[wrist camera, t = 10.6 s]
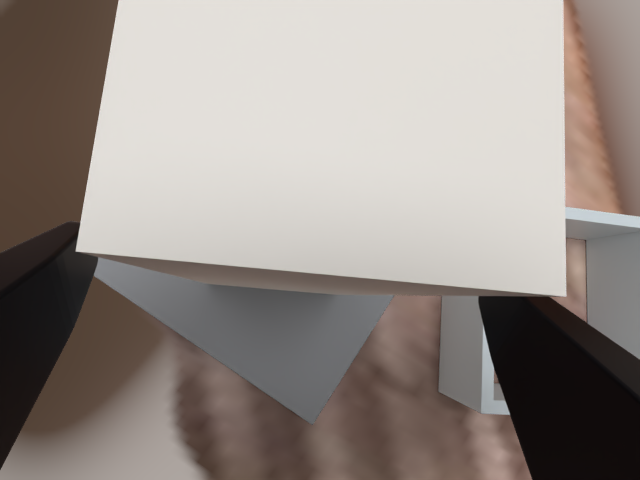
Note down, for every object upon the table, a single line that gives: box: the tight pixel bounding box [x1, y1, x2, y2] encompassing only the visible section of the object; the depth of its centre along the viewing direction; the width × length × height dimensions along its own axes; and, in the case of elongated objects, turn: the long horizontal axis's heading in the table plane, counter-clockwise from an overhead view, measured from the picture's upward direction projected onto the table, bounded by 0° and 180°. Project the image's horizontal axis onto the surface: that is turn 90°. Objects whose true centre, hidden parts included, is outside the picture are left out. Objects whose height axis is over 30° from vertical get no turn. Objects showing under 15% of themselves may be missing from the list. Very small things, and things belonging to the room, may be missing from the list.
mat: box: [94, 257, 394, 425], centre depth 18 cm, size 12×12×1 cm
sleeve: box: [438, 207, 640, 415], centre depth 18 cm, size 8×8×4 cm
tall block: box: [76, 0, 566, 297], centre depth 11 cm, size 6×6×13 cm
